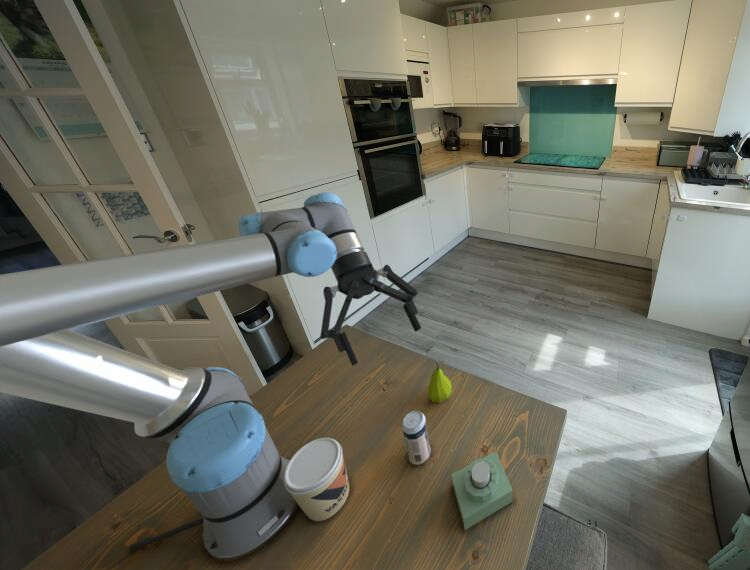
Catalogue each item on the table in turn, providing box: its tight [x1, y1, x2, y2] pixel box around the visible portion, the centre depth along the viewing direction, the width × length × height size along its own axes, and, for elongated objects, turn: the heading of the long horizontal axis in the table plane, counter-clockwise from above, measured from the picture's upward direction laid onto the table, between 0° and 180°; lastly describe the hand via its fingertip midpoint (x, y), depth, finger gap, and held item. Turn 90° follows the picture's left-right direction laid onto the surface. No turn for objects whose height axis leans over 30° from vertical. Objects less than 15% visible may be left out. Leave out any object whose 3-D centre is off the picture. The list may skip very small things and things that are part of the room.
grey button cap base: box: [450, 451, 514, 531], centre depth 62 cm, size 10×8×6 cm
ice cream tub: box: [284, 437, 350, 522], centre depth 60 cm, size 9×9×12 cm
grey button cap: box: [471, 462, 490, 488], centre depth 60 cm, size 4×4×2 cm
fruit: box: [426, 361, 453, 403], centre depth 80 cm, size 6×6×12 cm
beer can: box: [401, 410, 432, 465], centre depth 67 cm, size 5×5×12 cm
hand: (388, 346), depth 65 cm, fingers open, 13 cm apart
